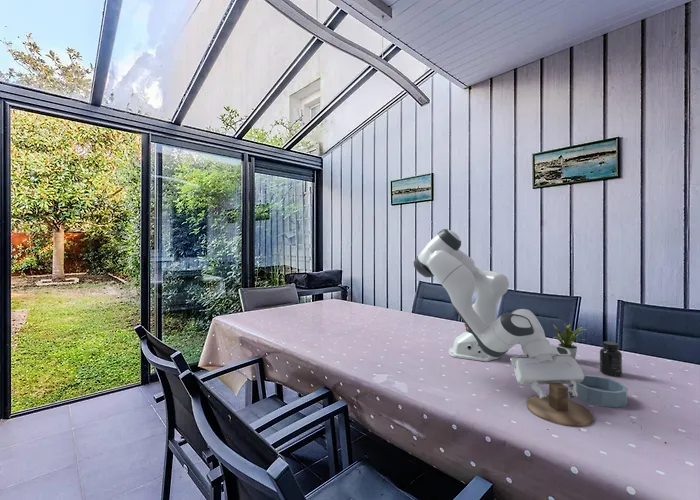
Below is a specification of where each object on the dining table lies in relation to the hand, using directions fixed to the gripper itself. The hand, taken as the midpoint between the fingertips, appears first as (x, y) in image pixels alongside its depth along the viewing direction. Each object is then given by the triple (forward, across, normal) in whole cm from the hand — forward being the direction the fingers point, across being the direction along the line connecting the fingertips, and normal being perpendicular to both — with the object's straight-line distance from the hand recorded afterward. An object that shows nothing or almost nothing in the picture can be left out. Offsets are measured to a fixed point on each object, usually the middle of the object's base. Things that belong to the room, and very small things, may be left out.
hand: (559, 397), depth 100 cm
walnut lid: (+3, 0, +4) cm, 5 cm away
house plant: (-27, +33, +33) cm, 54 cm away
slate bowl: (-3, +20, +10) cm, 22 cm away
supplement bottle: (-17, +39, +23) cm, 48 cm away
